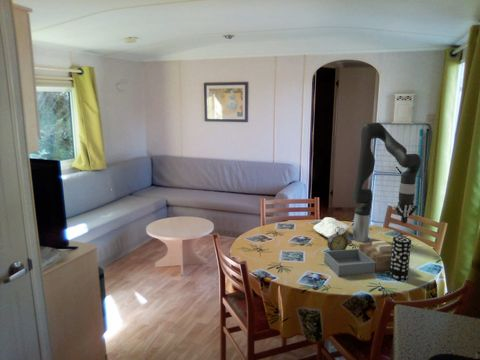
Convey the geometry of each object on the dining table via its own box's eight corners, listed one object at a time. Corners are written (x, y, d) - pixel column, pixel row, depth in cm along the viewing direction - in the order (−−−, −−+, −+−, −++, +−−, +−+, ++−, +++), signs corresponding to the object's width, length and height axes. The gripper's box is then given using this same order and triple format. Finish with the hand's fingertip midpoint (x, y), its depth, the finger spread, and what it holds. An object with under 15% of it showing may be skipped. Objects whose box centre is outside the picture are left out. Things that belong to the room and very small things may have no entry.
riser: (358, 258, 204) (359, 243, 202) (381, 256, 206) (382, 241, 204) (375, 273, 186) (377, 256, 184) (400, 270, 189) (401, 254, 187)
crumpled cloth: (345, 224, 257) (344, 212, 256) (357, 242, 223) (355, 228, 221) (312, 228, 260) (310, 216, 258) (318, 246, 226) (316, 233, 224)
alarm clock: (330, 256, 207) (331, 229, 203) (325, 252, 212) (326, 226, 208) (347, 254, 210) (348, 227, 206) (342, 250, 215) (343, 224, 211)
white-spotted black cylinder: (402, 273, 186) (406, 236, 182) (410, 280, 178) (414, 242, 174) (386, 273, 186) (390, 236, 182) (394, 281, 178) (397, 242, 174)
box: (324, 261, 200) (324, 251, 199) (357, 258, 204) (358, 248, 202) (338, 276, 183) (339, 265, 181) (374, 273, 186) (375, 262, 185)
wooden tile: (372, 246, 197) (372, 241, 197) (383, 245, 199) (384, 240, 198) (379, 251, 191) (379, 246, 190) (391, 250, 192) (391, 245, 191)
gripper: (413, 189, 195) (410, 220, 199) (391, 190, 193) (388, 221, 196) (423, 192, 188) (419, 224, 191) (400, 193, 185) (397, 226, 189)
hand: (403, 223), depth 194 cm, fingers closed
